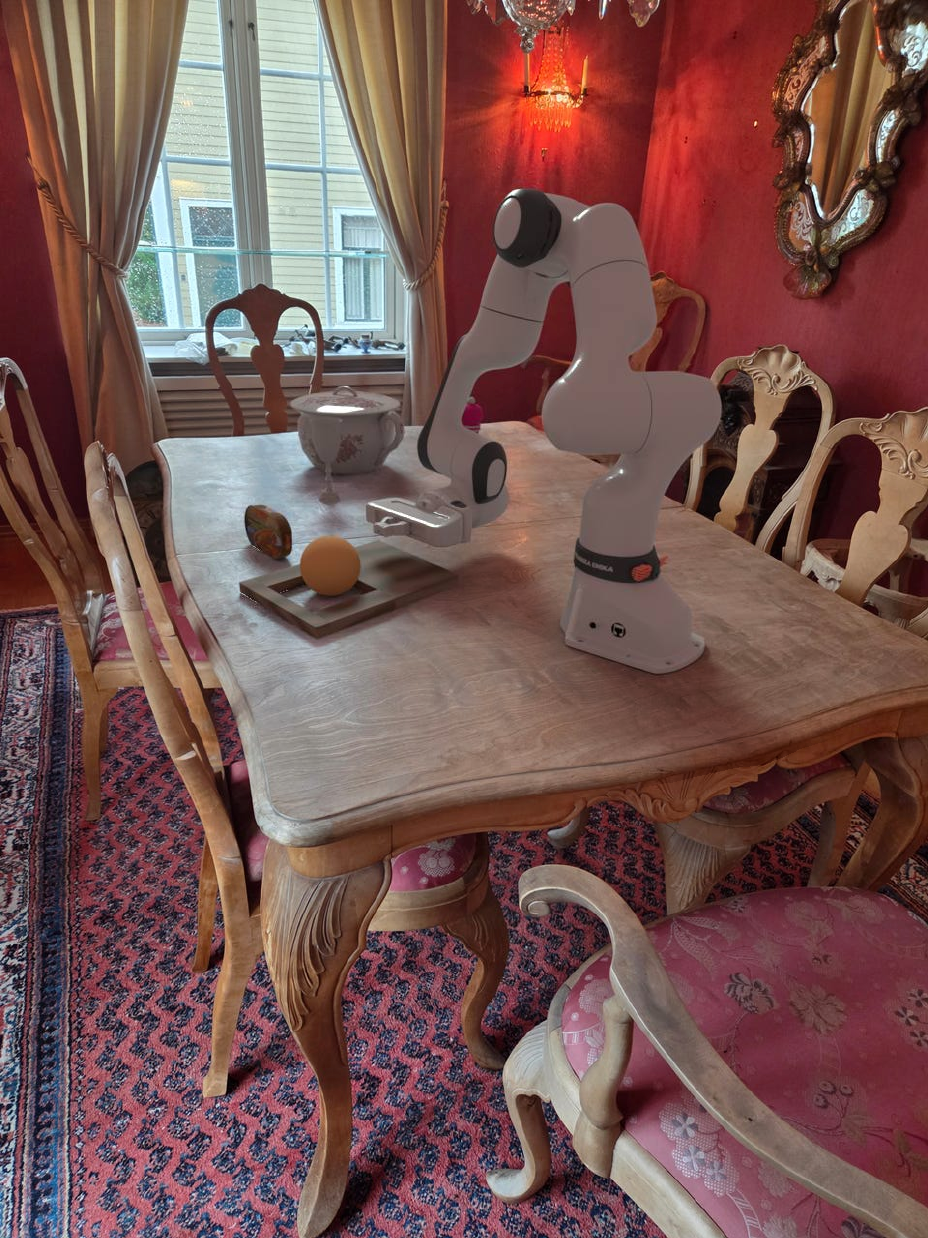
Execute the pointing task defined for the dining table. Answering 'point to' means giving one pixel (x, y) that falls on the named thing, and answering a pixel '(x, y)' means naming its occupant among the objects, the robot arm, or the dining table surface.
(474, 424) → the pepper mill
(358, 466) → the chamber pot
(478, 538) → the dining table surface
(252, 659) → the dining table surface
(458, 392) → the robot arm
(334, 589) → the ball
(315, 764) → the dining table surface
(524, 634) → the dining table surface
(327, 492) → the chalice
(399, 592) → the board
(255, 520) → the tin
